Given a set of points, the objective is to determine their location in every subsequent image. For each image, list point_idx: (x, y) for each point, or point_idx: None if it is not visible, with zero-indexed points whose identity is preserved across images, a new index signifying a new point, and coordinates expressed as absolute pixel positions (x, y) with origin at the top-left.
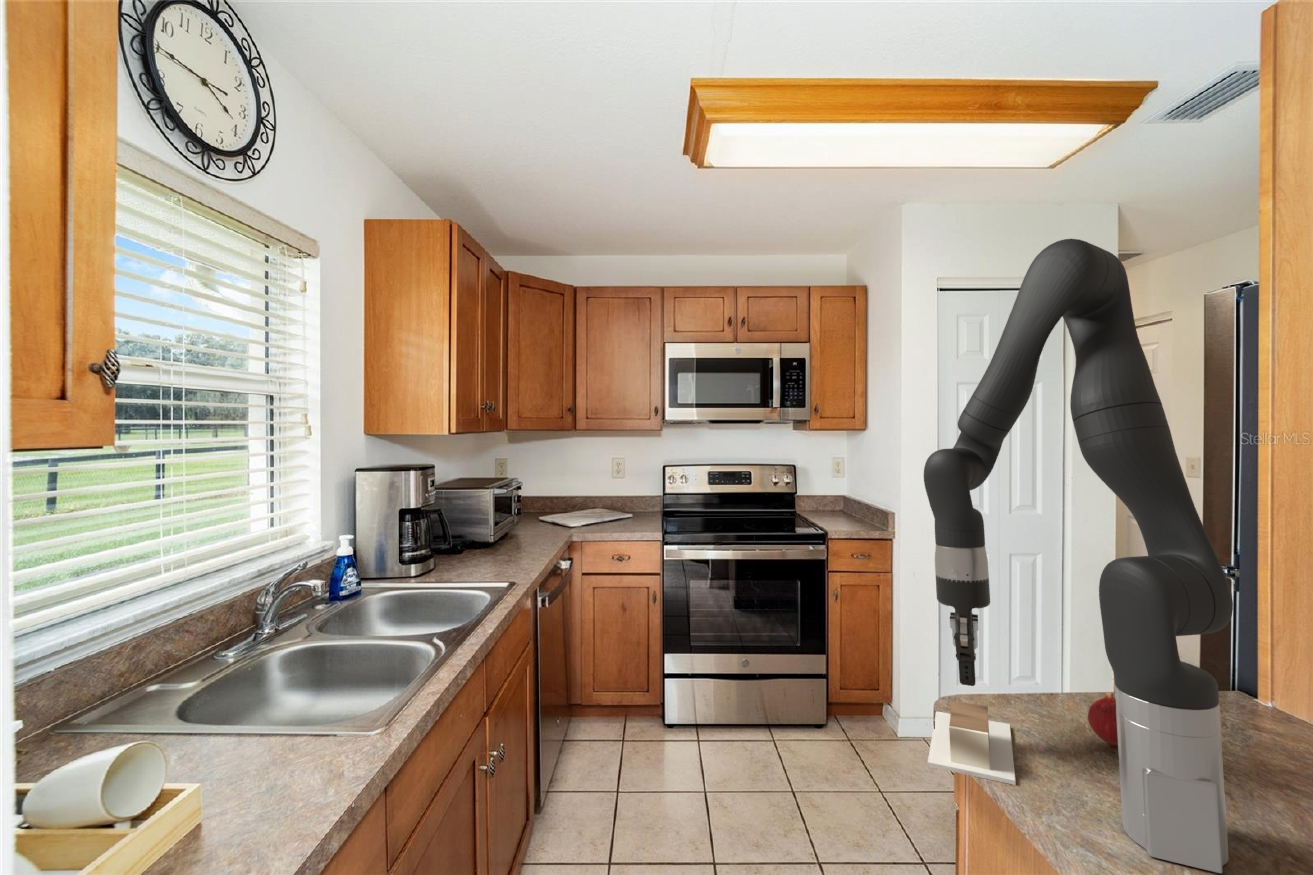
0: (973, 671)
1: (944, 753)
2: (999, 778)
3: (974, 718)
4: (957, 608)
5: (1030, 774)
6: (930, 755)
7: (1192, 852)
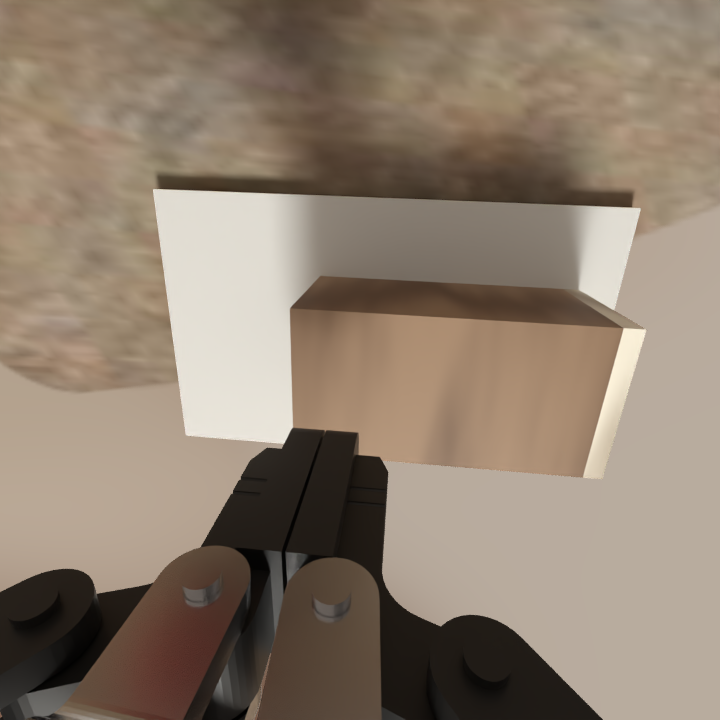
0: (345, 500)
1: None
2: (625, 261)
3: (467, 376)
4: None
5: (532, 144)
6: None
7: None
